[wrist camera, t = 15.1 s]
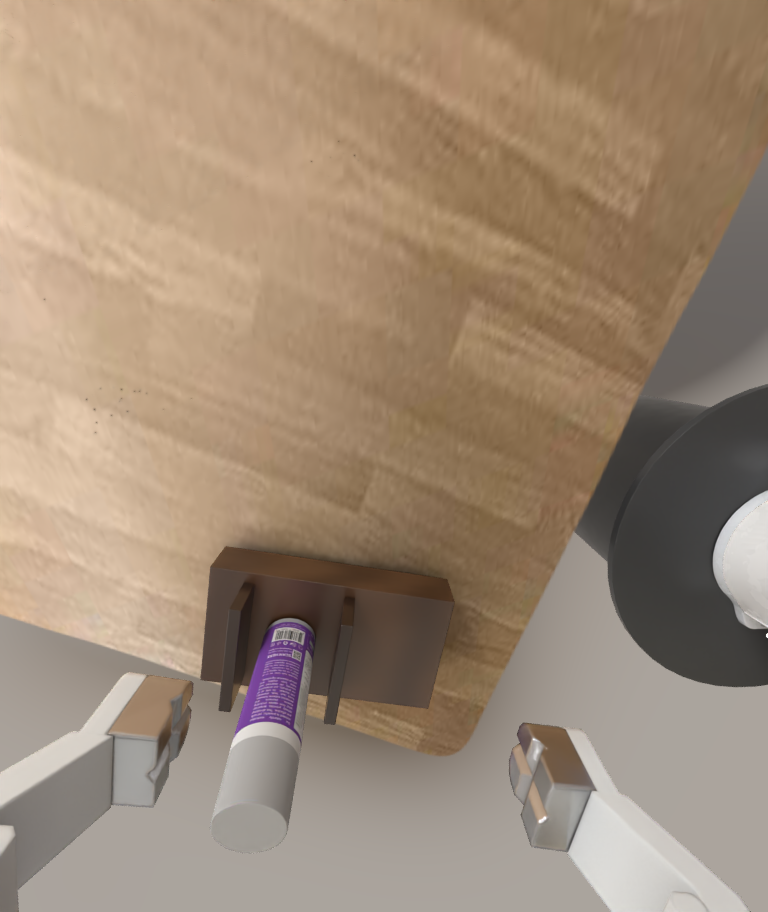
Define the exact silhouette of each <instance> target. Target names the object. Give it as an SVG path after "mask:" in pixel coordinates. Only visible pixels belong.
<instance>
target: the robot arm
mask: <svg viewBox="0 0 768 912" xmlns="http://www.w3.org/2000/svg"><path fill="white" fill-rule="evenodd" d="M713 571H714V576H715V579H716V581H717V583H718V585H719V587H720V588H721V590H722V591H723V592H724V593H725V594H726V595H727V597H728V598H729V599H730V600H731V601H732V603H733V604H734V609H735V613H736V617H737V619H738V621H739V622H740V623H741V624H743V625H745V626H746V627H748V628H750V629H768V490H767V491H765V492H763V493H761V494H759V495H757V496H755V497H754V498H752V499H751V500H749V501H748V502H746V503H745V504H744V505H743V506H741V507H740V508H739V509H738V510H737V511H736V512H735V513H734V514H733V515H732V516H731V518H730V519H729V520H728V521H727V523H726V524H725V526H724V527H723V529H722V531H721V532H720V534H719V537H718V539H717V542H716V544H715V548H714V553H713ZM766 637H768V634H767V636H766ZM192 695H193V683H192V682H191V681H187V680H180V679H173V678H167V677H160V676H153V675H144V674H138V673H131V672H128V673H126V674H125V675H123V676H122V677H121V678H120V679H119V681H118V682H117V683H116V685H115V686H114V687H113V688H112V690H111V691H110V692H109V694H108V695H107V696H106V698H105V699H104V700H103V701H102V703H101V704H100V705H99V707H98V708H97V709H96V711H95V712H94V713H93V714H92V716H91V717H90V719H89V720H88V721H87V722H86V724H85V725H84V726H83V728H82V729H81V730H80V731H79V732H75V731H72V732H70V733H68V734H66V735H65V736H63V737H61V738H60V739H58V740H56V741H54V742H53V743H51V744H49V745H47V746H46V747H44V748H42V749H40V750H39V751H37V752H35V753H33V754H32V755H30V756H28V757H26V758H25V759H23V760H21V761H20V762H18V763H16V764H14V765H13V766H11V767H9V768H7V769H6V770H4V771H2V772H1V773H0V912H19V910H18V909H19V908H18V889H19V888H20V887H22V886H23V885H24V884H25V883H26V882H27V881H28V880H29V879H31V878H32V877H33V876H34V875H35V874H36V873H37V872H38V871H39V870H41V869H42V868H43V867H44V866H45V865H46V864H48V863H49V862H50V861H51V860H52V859H53V858H54V857H55V856H57V855H58V854H59V853H60V852H61V851H62V850H63V849H65V848H66V847H67V846H68V845H69V844H70V843H71V842H72V841H74V840H75V839H76V838H77V837H78V836H79V835H80V834H82V833H83V832H84V831H85V830H86V829H87V828H88V827H89V826H91V825H92V824H93V823H94V822H95V821H96V820H97V819H98V818H100V817H101V816H102V815H103V814H104V813H105V812H106V811H108V810H109V809H110V808H111V805H122V806H136V807H149V808H153V807H154V805H155V803H156V801H157V799H158V797H159V795H160V793H161V791H162V789H163V786H164V784H165V782H166V780H167V778H168V775H169V763H170V762H171V761H173V760H174V759H175V758H177V757H178V755H179V753H180V751H181V748H182V746H183V744H184V741H185V738H186V735H187V732H188V728H189V724H190V719H191V709H190V707H189V706H188V703H189V701H190V699H191V697H192ZM517 736H518V739H519V741H520V743H519V744H518V745H517V746H515V747H514V748H513V749H512V752H511V756H510V760H509V775H510V781H511V785H512V788H513V792H514V795H515V796H516V797H517V798H518V799H519V800H520V802H521V803H522V804H523V805H524V806H523V810H522V813H521V817H522V820H523V823H524V826H525V829H526V833H527V835H528V839H529V842H530V845H531V847H534V848H541V849H548V850H556V851H563V852H568V856H569V857H570V859H571V860H572V861H573V863H574V864H575V865H576V866H577V868H578V869H579V870H580V872H581V873H582V874H583V876H584V877H585V878H586V880H587V881H588V882H589V884H590V885H591V886H592V888H593V889H594V890H595V891H596V893H597V894H598V895H599V897H600V898H601V899H602V901H603V902H604V903H605V905H606V906H607V907H608V908H609V910H610V911H611V912H751V911H750V910H749V909H748V907H747V906H746V904H745V903H744V901H743V900H742V898H741V897H740V896H739V895H738V894H737V893H736V892H735V891H734V890H733V889H732V888H730V887H729V886H728V885H727V884H726V883H725V882H724V881H723V880H721V879H720V878H719V877H718V876H717V875H716V874H715V873H714V872H712V871H711V870H710V869H709V868H708V867H707V866H706V865H704V864H703V863H702V862H701V861H700V860H699V859H698V858H697V857H695V856H694V855H693V854H692V853H691V852H690V851H689V850H688V849H686V848H685V847H684V846H683V845H682V844H681V843H680V842H679V841H677V840H676V839H675V838H674V837H673V836H672V835H671V834H670V833H668V832H667V831H666V830H665V829H664V828H663V827H662V826H661V825H659V824H658V823H657V822H656V821H655V820H654V819H653V818H651V817H650V816H649V815H648V814H647V813H646V812H645V811H644V810H642V809H641V808H640V807H639V806H638V805H637V804H636V803H635V802H633V801H632V800H631V799H630V798H629V797H628V796H627V795H623V794H620V793H619V791H618V790H617V788H616V786H615V784H614V783H613V781H612V779H611V777H610V775H609V774H608V772H607V770H606V768H605V767H604V765H603V763H602V761H601V760H600V758H599V756H598V754H597V752H596V751H595V749H594V747H593V745H592V743H591V742H590V740H589V738H588V736H587V735H586V733H585V732H584V731H583V730H582V729H575V728H567V727H557V726H549V725H540V724H531V723H523V724H521V726H520V727H519V730H518V733H517Z"/></svg>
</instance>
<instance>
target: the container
mask: <svg viewBox="0 0 768 912" xmlns="http://www.w3.org/2000/svg"><path fill="white" fill-rule="evenodd" d="M314 649H315V633H314V631H313V629H312V628H311V627H310V626H309V625H308V624H307V623H305V622H303V621H301V620H298V619H294V618H285V619H280V620H277V621H275V622H274V623H272V624H271V625H270V626H269V627H268V628H267V630H266V632H265V635H264V638H263V641H262V645H261V648H260V651H259V655H258V658H257V661H256V665H255V668H254V671H253V675H252V678H251V681H250V685H249V688H248V691H247V695H246V698H245V702H244V705H243V708H242V711H241V715H240V718H239V721H238V725H237V728H236V731H235V735H234V738H233V742H232V746H231V750H230V753H229V757H228V761H227V764H226V768H225V772H224V776H223V779H222V783H221V787H220V790H219V794H218V798H217V802H216V805H215V809H214V813H213V816H212V820H211V824H210V831H211V835H212V837H213V838H214V840H215V841H216V842H217V843H218V844H220V845H221V846H223V847H224V848H226V849H229V850H232V851H235V852H240V853H258V852H263V851H267V850H269V849H272V848H274V847H275V846H277V845H278V844H280V843H281V842H282V841H283V839H284V838H285V836H286V834H287V831H288V824H289V818H290V812H291V806H292V800H293V794H294V788H295V781H296V775H297V769H298V763H299V757H300V751H301V744H302V737H303V730H304V723H305V715H306V708H307V700H308V693H309V686H310V678H311V671H312V663H313V656H314Z"/></svg>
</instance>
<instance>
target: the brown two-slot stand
mask: <svg viewBox="0 0 768 912" xmlns="http://www.w3.org/2000/svg"><path fill="white" fill-rule="evenodd" d="M454 603H455V602H454V599H453V596H452V593H451V590H450V587H449V583H448V580H447V579H443V578H436V577H429V576H423V575H416V574H409V573H402V572H396V571H389V570H382V569H376V568H369V567H362V566H355V565H349V564H342V563H335V562H328V561H322V560H315V559H308V558H301V557H295V556H288V555H281V554H274V553H268V552H261V551H254V550H247V549H241V548H234V547H227V546H226V547H225V548H224V549H223V551H222V552H221V553H220V555H219V556H218V557H217V559H216V560H215V561H214V563H213V564H212V566H211V567H210V576H209V588H208V600H207V611H206V623H205V634H204V646H203V658H202V669H201V680H204V681H212V682H220V683H221V692H220V702H219V711H224V712H230V711H231V709H232V706H233V704H234V701H235V698H236V696H237V693H238V691H239V688H240V686H241V685H244V686H249V685H250V681H251V678H252V675H253V671H254V668H255V665H256V661H257V658H258V655H259V651H260V648H261V645H262V641H263V638H264V635H265V632H266V630H267V628H268V627H269V626H270V625H271V624H272V623H274V622H275V621H277V620H280V619H285V618H294V619H298V620H301V621H303V622H305V623H307V624H308V625H309V626H310V627H311V628H312V629H313V631H314V633H315V649H314V656H313V663H312V671H311V678H310V686H309V693H308V694H316V695H323V696H327V702H326V709H325V717H324V724H333V725H335V722H336V717H337V712H338V706H339V701H340V698H347V699H355V700H363V701H371V702H379V703H387V704H395V705H403V706H411V707H419V708H427V709H428V707H429V703H430V699H431V695H432V691H433V687H434V683H435V679H436V675H437V671H438V667H439V663H440V659H441V655H442V651H443V647H444V643H445V639H446V635H447V631H448V627H449V623H450V619H451V615H452V611H453V607H454Z"/></svg>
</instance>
